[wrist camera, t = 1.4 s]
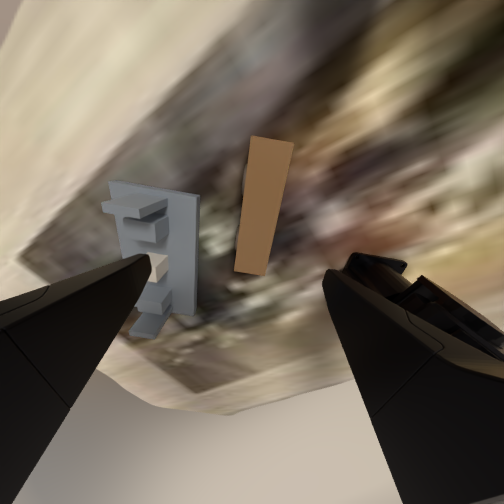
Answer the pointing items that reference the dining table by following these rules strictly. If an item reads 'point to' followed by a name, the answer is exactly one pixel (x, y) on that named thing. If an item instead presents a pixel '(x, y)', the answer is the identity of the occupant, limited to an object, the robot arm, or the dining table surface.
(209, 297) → the dining table surface
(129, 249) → the display cradle
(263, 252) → the brown rectangular block
